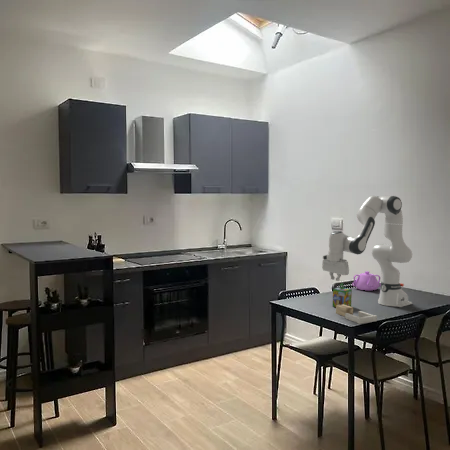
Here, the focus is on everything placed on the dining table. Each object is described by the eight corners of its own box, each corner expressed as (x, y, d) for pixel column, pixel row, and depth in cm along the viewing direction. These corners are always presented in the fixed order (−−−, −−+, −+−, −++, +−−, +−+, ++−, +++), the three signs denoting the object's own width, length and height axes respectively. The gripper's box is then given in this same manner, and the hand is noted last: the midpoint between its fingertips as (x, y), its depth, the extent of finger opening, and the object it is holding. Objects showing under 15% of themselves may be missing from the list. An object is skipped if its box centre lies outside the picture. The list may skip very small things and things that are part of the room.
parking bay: (361, 315, 271) (361, 310, 271) (376, 320, 261) (376, 315, 261) (344, 318, 265) (344, 313, 265) (359, 323, 254) (359, 318, 254)
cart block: (343, 312, 279) (343, 304, 279) (352, 315, 272) (353, 307, 272) (335, 313, 276) (336, 305, 276) (345, 316, 269) (345, 308, 269)
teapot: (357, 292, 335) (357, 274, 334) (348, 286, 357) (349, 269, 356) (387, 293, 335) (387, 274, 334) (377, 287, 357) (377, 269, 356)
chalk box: (345, 309, 287) (346, 285, 286) (331, 306, 293) (332, 283, 292) (351, 306, 294) (352, 283, 293) (338, 304, 300) (339, 281, 299)
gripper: (351, 259, 272) (351, 282, 273) (328, 255, 290) (328, 277, 291) (343, 260, 269) (343, 283, 270) (320, 255, 287) (320, 277, 288)
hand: (335, 280), depth 281 cm, fingers open, 3 cm apart
